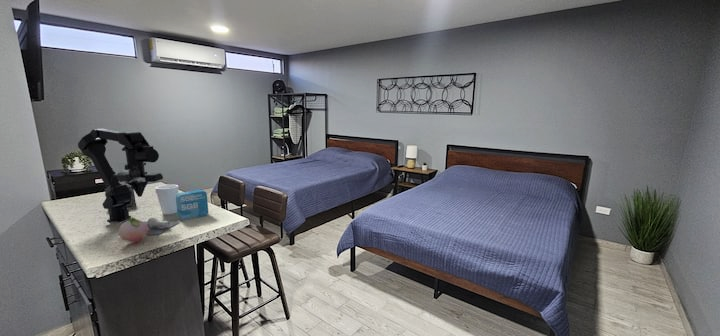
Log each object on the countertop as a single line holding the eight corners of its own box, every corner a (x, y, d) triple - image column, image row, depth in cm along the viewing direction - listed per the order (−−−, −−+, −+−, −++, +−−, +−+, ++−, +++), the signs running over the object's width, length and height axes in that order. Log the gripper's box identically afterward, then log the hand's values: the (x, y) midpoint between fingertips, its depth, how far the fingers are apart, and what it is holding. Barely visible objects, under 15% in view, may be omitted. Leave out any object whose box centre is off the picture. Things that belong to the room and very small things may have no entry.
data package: (180, 221, 135) (177, 195, 133) (178, 218, 138) (175, 193, 136) (208, 215, 143) (206, 190, 141) (205, 212, 147) (203, 188, 144)
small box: (132, 203, 161) (129, 184, 159) (136, 205, 157) (134, 186, 156) (107, 208, 153) (104, 188, 151) (111, 210, 149) (108, 190, 147)
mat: (118, 235, 119) (118, 234, 119) (143, 222, 133) (143, 221, 133) (158, 235, 119) (158, 234, 119) (179, 222, 133) (179, 221, 133)
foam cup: (183, 208, 153) (180, 183, 150) (178, 214, 144) (175, 188, 142) (161, 210, 150) (158, 185, 147) (155, 216, 141) (152, 189, 139)
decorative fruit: (116, 244, 111) (112, 218, 110) (141, 236, 118) (138, 212, 117) (127, 250, 107) (124, 223, 105) (153, 241, 113) (150, 216, 112)
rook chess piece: (152, 215, 127) (170, 217, 126) (155, 224, 129) (172, 226, 128) (145, 221, 123) (163, 223, 122) (147, 230, 124) (165, 232, 124)
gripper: (97, 164, 120) (103, 201, 123) (143, 164, 120) (148, 202, 123) (119, 160, 131) (124, 194, 134) (161, 160, 131) (165, 194, 134)
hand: (140, 196), depth 131 cm, fingers closed
